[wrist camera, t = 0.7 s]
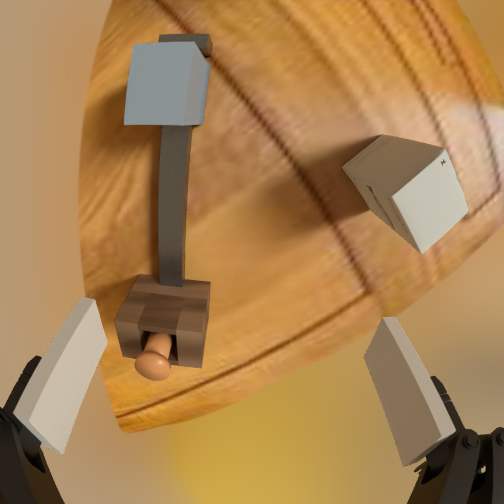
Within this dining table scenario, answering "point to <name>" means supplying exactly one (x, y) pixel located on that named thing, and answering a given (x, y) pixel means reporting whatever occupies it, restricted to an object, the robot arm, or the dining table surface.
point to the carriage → (166, 84)
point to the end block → (165, 318)
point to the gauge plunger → (155, 357)
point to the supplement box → (409, 188)
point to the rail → (175, 184)
